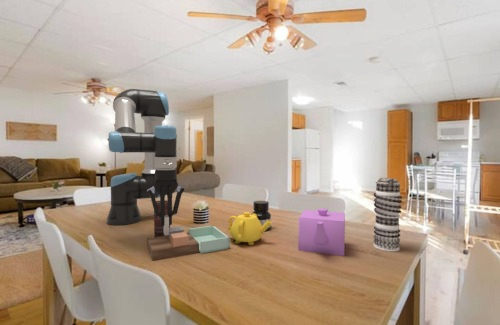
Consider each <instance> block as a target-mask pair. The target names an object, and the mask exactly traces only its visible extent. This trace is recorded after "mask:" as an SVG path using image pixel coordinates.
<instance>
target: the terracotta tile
mask: <svg viewBox="0 0 500 325" xmlns="http://www.w3.org/2000/svg"><path fill="white" fill-rule="evenodd" d="M186 233H187V232H185V231H184V232H181V233H174V234H170V237H171V244H172V246H173V247H178V246H185V245H189V236H188V235H187V234H186Z"/></svg>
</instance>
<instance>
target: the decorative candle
mask: <svg viewBox="0 0 500 325" xmlns="http://www.w3.org/2000/svg"><path fill="white" fill-rule="evenodd" d="M375 183H376V186H375V188H376V189H375V192H374V193H373V196H374V197H375V198H373V202H374V203H373V206H374V208H373V211H374V215H375V221H374V227H373V229H374V231H373V233H374V235H373V247H374V248H376V249H378V250H381V251H383V252H385V251H386V252H398V251H400V246H401V243H400V241H401V239H400V237H401V234H400V233H401V229H400V218H401V215H400V214H401V213H402V210H401V209H402V206H401V205H400V204H401V203H403V201H402V200H401V199H403V196H402V195H401V191H400V190H401V189H400V187H401V184H402V183H401V182H399V181H398V179H396V178H391V177H381V178H378V180H377V181H375Z"/></svg>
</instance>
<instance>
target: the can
mask: <svg viewBox="0 0 500 325" xmlns="http://www.w3.org/2000/svg"><path fill="white" fill-rule="evenodd" d="M156 203H157V207H158V211H159V212H160V200H157V201H156ZM167 215H168V209H167V200H166V199H165V216H167ZM153 219H154V220H153V222H154V223H153V229H154V230H153V231H154V233H153V234H154V237H160V236H167V235H164V226H161V224H160V216H156V214H155V212H154V211H153ZM169 228H171V225H169Z"/></svg>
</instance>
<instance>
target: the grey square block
mask: <svg viewBox="0 0 500 325" xmlns="http://www.w3.org/2000/svg"><path fill="white" fill-rule="evenodd" d="M181 232H185V230H184V228H183V227H182V226H172V227H171V226H170V228H169V235H167V236H168V238H169V240H171V237H170V234H174V233H181Z"/></svg>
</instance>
